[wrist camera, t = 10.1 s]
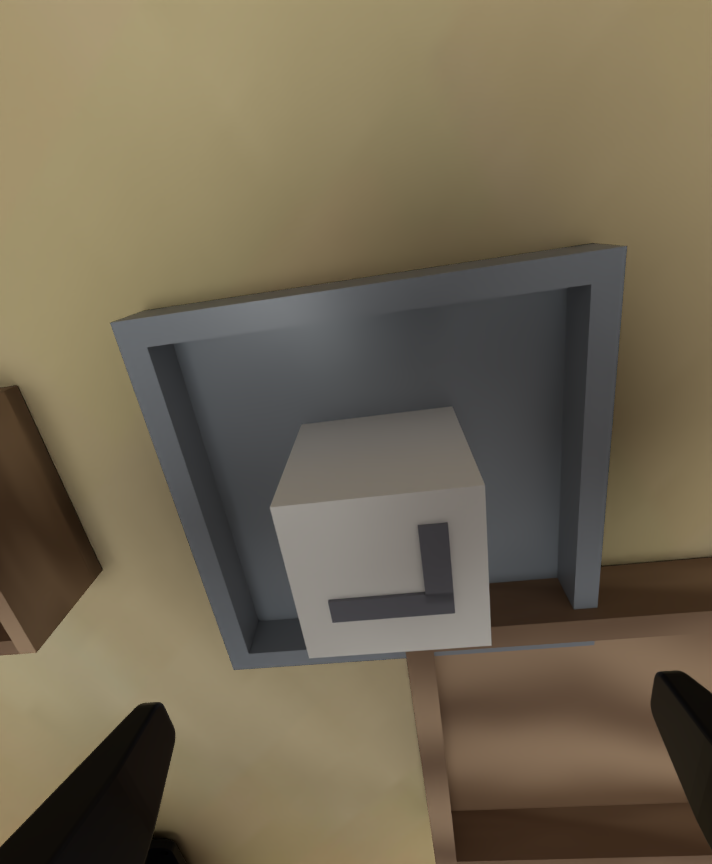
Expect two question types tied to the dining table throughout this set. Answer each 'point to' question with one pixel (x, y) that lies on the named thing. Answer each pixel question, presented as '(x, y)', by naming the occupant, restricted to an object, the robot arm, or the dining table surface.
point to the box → (35, 536)
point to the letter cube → (385, 535)
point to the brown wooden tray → (565, 724)
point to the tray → (385, 394)
